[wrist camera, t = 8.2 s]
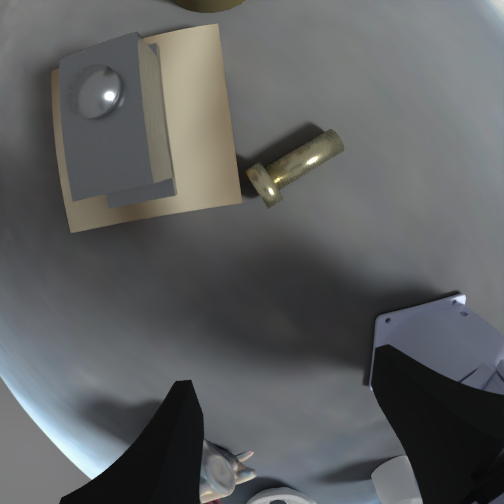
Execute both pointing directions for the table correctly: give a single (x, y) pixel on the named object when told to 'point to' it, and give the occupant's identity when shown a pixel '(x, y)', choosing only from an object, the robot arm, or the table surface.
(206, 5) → the cork
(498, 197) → the table surface
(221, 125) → the stand
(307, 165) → the loose bolt
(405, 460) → the white plastic container
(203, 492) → the brake caliper
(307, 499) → the skull bowl
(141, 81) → the housing
